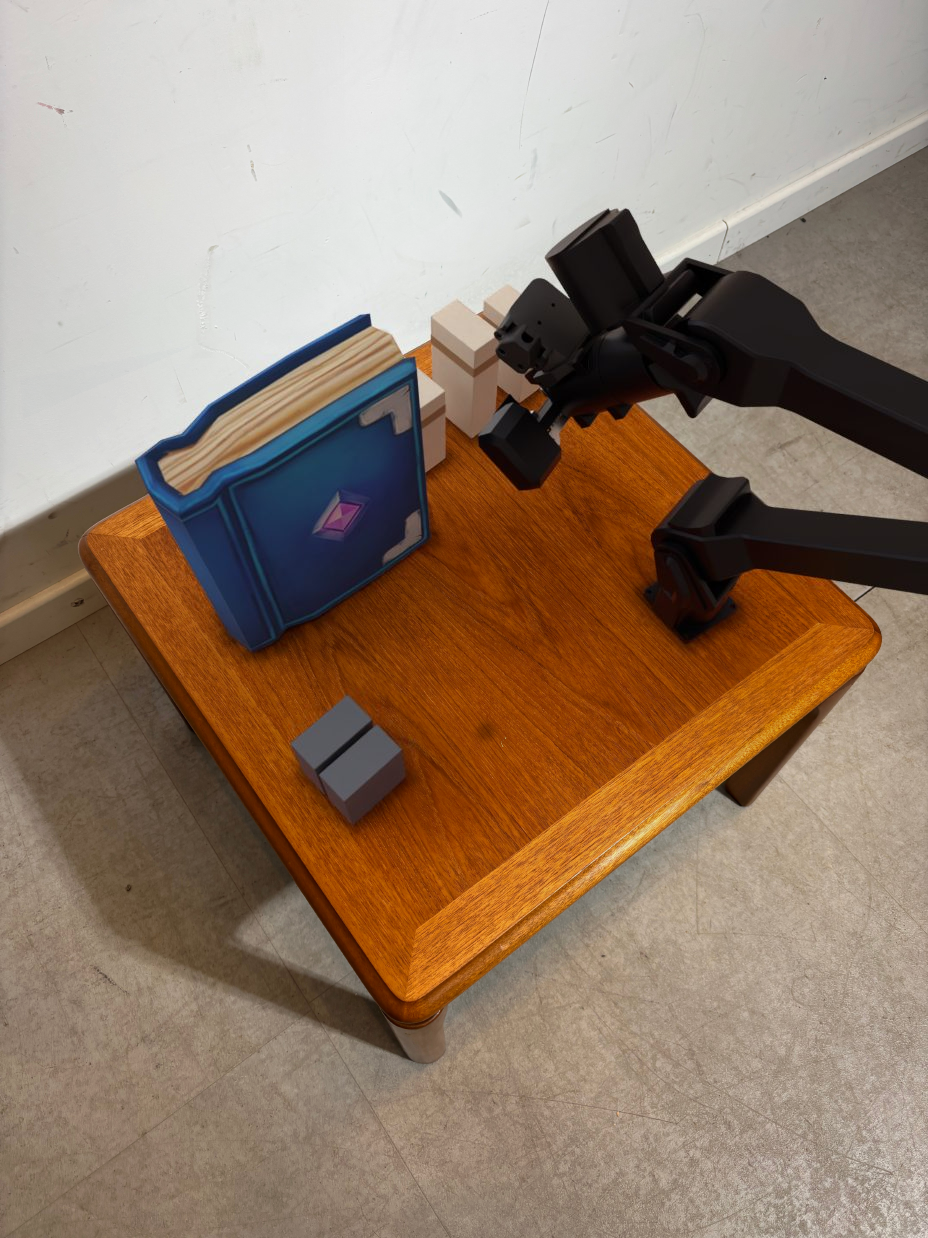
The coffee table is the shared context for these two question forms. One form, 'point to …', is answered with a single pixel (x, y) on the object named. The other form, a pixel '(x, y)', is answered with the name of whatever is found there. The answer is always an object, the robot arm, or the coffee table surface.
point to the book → (298, 482)
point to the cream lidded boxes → (435, 395)
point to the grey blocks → (350, 759)
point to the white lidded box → (465, 365)
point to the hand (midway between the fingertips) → (509, 403)
